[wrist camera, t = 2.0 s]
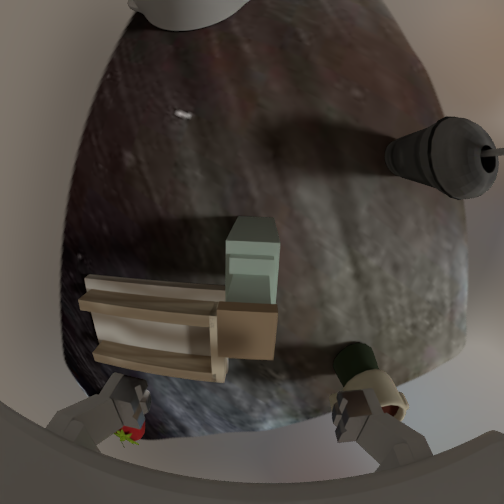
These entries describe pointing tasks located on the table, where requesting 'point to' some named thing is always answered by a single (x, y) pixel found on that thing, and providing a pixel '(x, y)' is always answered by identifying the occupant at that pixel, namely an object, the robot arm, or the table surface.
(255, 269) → the pale green flat bottle
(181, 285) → the u rest
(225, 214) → the table surface
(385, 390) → the character mug
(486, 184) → the beverage cup
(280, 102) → the table surface
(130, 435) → the strawberry
